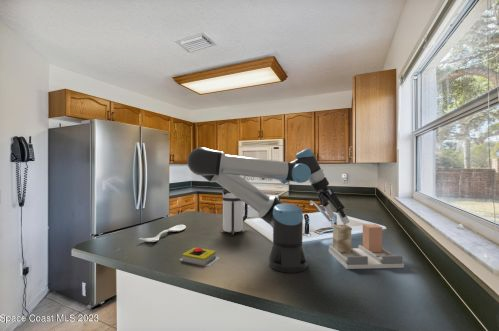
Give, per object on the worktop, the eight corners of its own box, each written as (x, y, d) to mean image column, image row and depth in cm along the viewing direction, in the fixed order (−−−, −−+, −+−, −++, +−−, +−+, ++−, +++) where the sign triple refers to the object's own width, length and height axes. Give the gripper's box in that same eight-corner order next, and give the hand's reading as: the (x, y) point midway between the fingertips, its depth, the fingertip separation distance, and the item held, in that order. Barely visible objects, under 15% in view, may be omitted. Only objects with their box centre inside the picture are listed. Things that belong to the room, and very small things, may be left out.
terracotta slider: (368, 252, 99) (369, 227, 99) (362, 248, 104) (362, 224, 104) (382, 252, 100) (382, 227, 100) (375, 248, 105) (375, 224, 105)
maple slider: (337, 253, 98) (337, 227, 98) (332, 248, 103) (333, 224, 103) (351, 252, 99) (351, 227, 99) (345, 248, 104) (345, 224, 104)
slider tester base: (346, 268, 87) (346, 257, 87) (328, 252, 104) (328, 242, 104) (403, 267, 89) (403, 256, 89) (376, 251, 106) (377, 241, 106)
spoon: (137, 244, 114) (137, 237, 114) (176, 228, 144) (176, 222, 144) (152, 246, 111) (152, 239, 111) (188, 229, 141) (188, 223, 141)
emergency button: (192, 243, 103) (221, 248, 97) (192, 253, 103) (220, 259, 97) (178, 251, 95) (208, 256, 89) (178, 261, 95) (208, 268, 89)
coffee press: (246, 236, 127) (247, 182, 127) (218, 236, 127) (218, 182, 127) (247, 227, 144) (247, 180, 144) (222, 227, 145) (222, 180, 144)
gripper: (337, 176, 94) (361, 221, 94) (314, 176, 118) (334, 211, 118) (321, 185, 93) (346, 230, 93) (302, 182, 118) (321, 218, 118)
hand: (339, 220), depth 106 cm, fingers open, 13 cm apart
